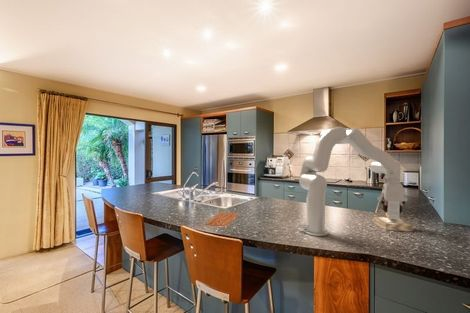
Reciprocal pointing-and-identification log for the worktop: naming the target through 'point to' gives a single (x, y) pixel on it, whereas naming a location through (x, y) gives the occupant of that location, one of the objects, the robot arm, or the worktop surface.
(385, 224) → the maple plinth
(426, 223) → the worktop surface
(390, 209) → the small box
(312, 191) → the robot arm
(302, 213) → the worktop surface
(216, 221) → the wooden cutting board
